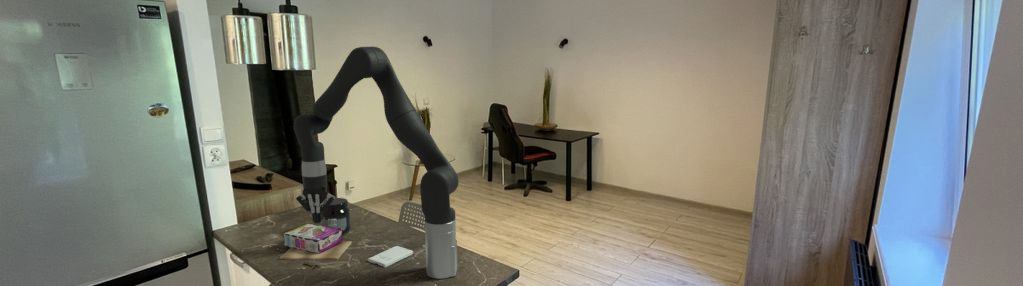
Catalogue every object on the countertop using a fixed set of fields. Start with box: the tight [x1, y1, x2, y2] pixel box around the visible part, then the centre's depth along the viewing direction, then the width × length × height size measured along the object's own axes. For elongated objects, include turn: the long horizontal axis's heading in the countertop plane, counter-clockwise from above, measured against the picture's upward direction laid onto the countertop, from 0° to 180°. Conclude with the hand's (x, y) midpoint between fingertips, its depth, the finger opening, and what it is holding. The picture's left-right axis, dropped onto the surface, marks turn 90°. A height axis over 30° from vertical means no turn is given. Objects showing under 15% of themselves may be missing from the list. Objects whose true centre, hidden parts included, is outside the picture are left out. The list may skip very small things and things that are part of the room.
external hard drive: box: [367, 245, 414, 268], centre depth 157 cm, size 2×8×12 cm
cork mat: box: [279, 240, 353, 261], centre depth 162 cm, size 19×14×1 cm
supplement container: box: [320, 197, 351, 235], centre depth 179 cm, size 10×10×12 cm
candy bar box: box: [283, 223, 344, 254], centre depth 166 cm, size 11×5×16 cm
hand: (317, 222), depth 161 cm, fingers closed
